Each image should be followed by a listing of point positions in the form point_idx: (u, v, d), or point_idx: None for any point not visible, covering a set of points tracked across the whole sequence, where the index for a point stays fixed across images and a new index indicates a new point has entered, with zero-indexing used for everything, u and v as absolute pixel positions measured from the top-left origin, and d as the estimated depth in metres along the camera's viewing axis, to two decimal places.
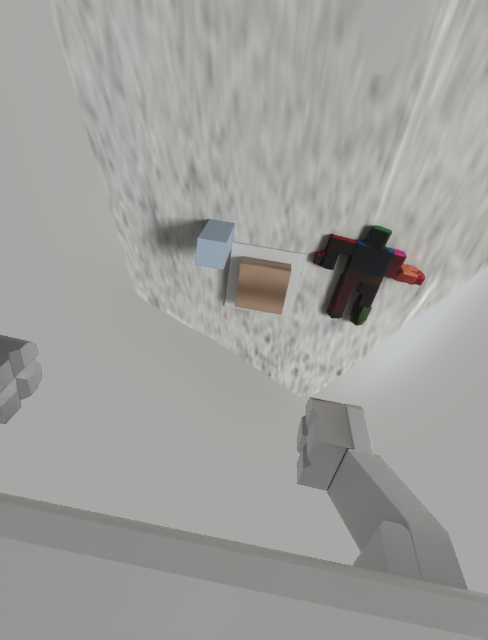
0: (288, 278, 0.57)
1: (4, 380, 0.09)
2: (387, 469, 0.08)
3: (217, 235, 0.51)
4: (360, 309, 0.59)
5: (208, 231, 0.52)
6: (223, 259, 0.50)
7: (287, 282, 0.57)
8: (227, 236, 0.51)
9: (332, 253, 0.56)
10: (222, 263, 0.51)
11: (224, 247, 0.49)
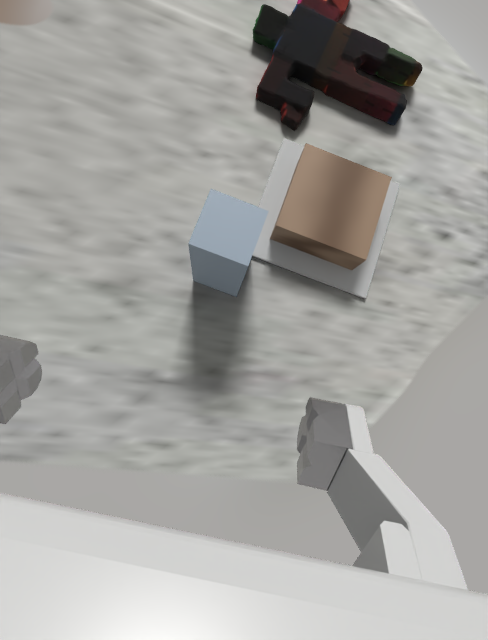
0: (318, 150, 0.31)
1: (4, 380, 0.09)
2: (387, 469, 0.08)
3: None
4: (391, 58, 0.34)
5: None
6: (246, 204, 0.23)
7: (325, 153, 0.31)
8: None
9: (285, 89, 0.33)
10: (254, 208, 0.23)
11: (220, 195, 0.23)
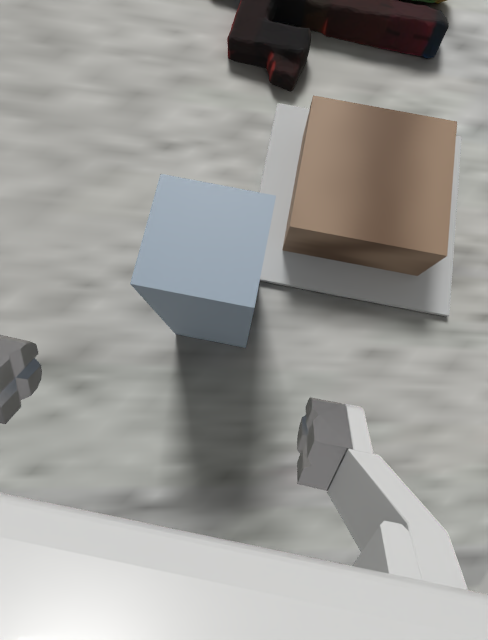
0: (334, 102, 0.20)
1: (4, 380, 0.09)
2: (387, 469, 0.08)
3: None
4: None
5: None
6: (231, 191, 0.12)
7: (347, 104, 0.20)
8: None
9: (267, 32, 0.23)
10: (248, 195, 0.12)
11: (179, 182, 0.12)
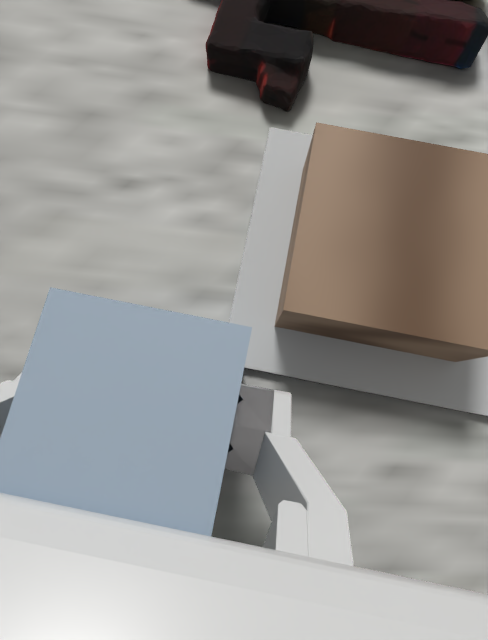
0: (345, 131, 0.15)
1: None
2: (300, 451, 0.08)
3: None
4: None
5: None
6: (173, 319, 0.07)
7: (362, 135, 0.15)
8: None
9: (257, 37, 0.18)
10: (202, 328, 0.07)
11: (82, 303, 0.07)
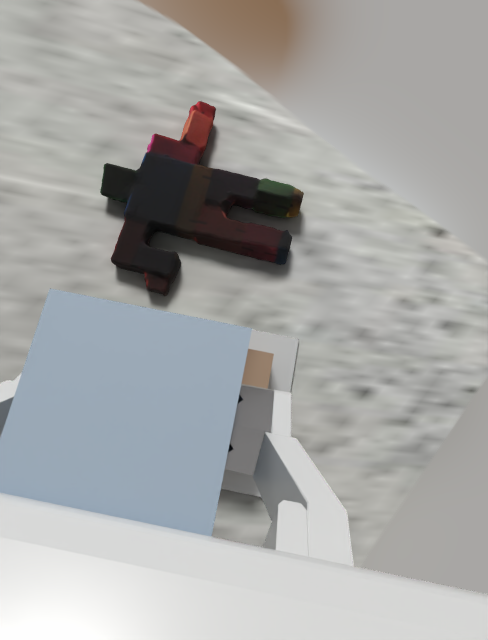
0: None
1: None
2: (301, 451, 0.08)
3: None
4: (263, 194, 0.29)
5: None
6: (173, 320, 0.07)
7: None
8: None
9: (141, 256, 0.28)
10: (202, 329, 0.07)
11: (81, 304, 0.07)
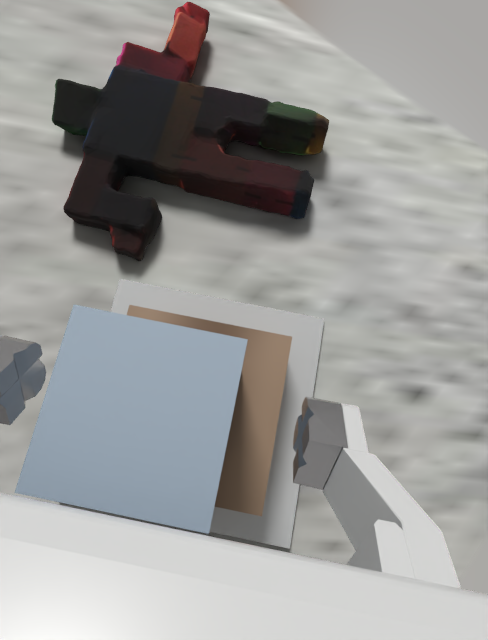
0: (152, 313, 0.17)
1: (8, 381, 0.09)
2: (382, 468, 0.08)
3: None
4: (274, 120, 0.21)
5: None
6: (179, 332, 0.08)
7: (167, 316, 0.17)
8: None
9: (105, 204, 0.20)
10: (205, 340, 0.08)
11: (101, 318, 0.08)
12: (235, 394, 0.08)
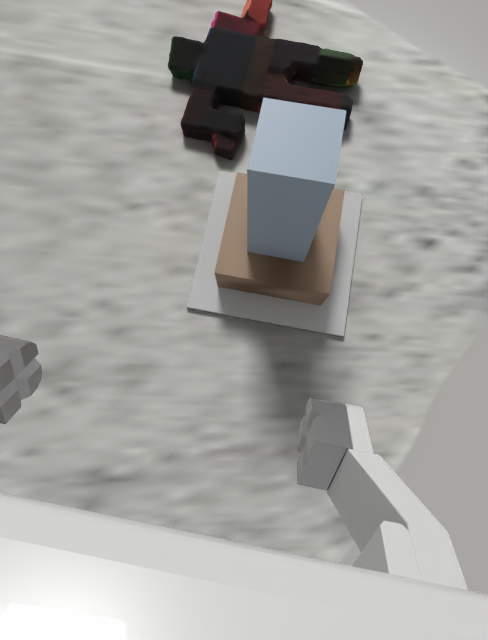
0: None
1: (4, 380, 0.09)
2: (387, 469, 0.08)
3: None
4: (324, 59, 0.30)
5: None
6: (314, 108, 0.17)
7: None
8: None
9: (210, 118, 0.30)
10: (326, 110, 0.17)
11: (277, 102, 0.17)
12: (342, 132, 0.17)
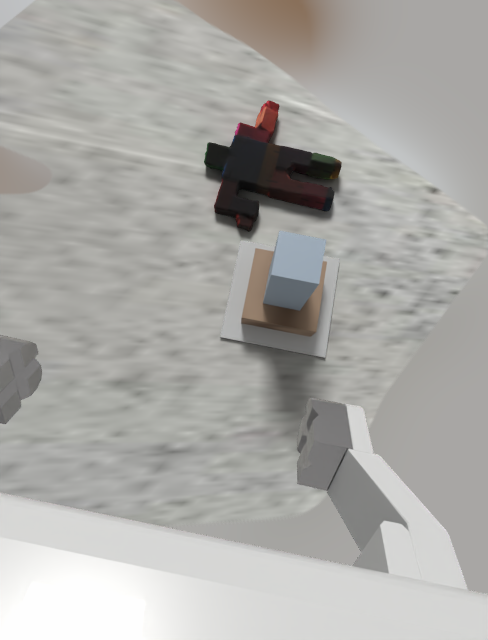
0: (266, 251, 0.40)
1: (4, 380, 0.09)
2: (387, 469, 0.08)
3: (273, 258, 0.32)
4: (315, 162, 0.43)
5: (269, 278, 0.33)
6: (308, 237, 0.30)
7: (272, 253, 0.40)
8: None
9: (235, 204, 0.43)
10: (315, 239, 0.30)
11: (287, 234, 0.30)
12: (323, 253, 0.30)
